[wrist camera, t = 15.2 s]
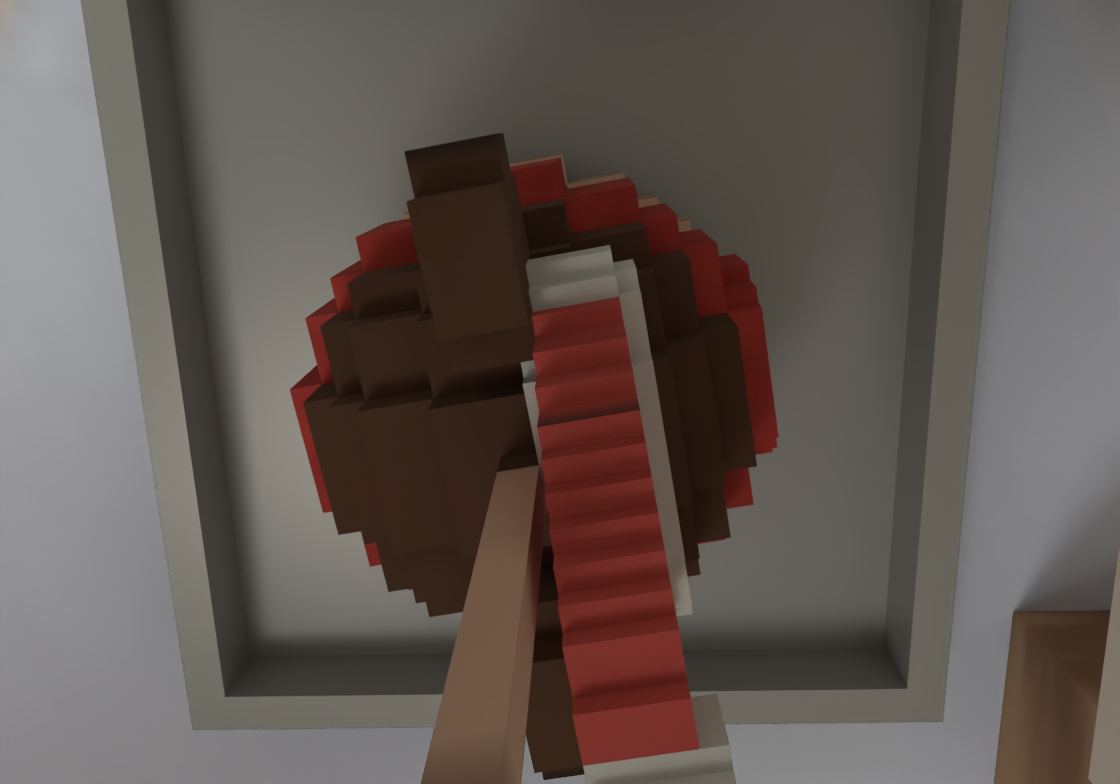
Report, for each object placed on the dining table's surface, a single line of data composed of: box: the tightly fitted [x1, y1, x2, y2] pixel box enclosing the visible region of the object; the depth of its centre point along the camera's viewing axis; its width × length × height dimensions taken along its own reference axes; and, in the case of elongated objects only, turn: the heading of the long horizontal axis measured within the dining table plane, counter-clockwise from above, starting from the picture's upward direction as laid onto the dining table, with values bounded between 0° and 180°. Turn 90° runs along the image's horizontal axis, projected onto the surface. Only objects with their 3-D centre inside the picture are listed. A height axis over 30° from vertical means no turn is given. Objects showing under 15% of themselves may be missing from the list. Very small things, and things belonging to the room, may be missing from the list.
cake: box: [290, 133, 779, 784], centre depth 16 cm, size 11×9×18 cm
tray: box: [81, 0, 1010, 730], centre depth 24 cm, size 20×20×3 cm
